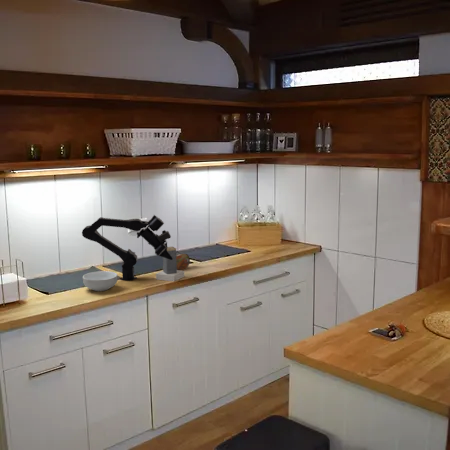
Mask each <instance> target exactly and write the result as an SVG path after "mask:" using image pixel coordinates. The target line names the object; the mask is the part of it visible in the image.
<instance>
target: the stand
mask: <svg viewBox="0 0 450 450" xmlns="http://www.w3.org/2000/svg"><path fill="white" fill-rule="evenodd" d="M184 277H185V271H184V270H177V273H172V274H166V273H164V272H163V270H161V271H158V272H157V273H155V280H161V281H165V282H166V281H168V282H176V281H179V280H180V279H182V278H184Z"/></svg>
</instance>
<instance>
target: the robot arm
mask: <svg viewBox="0 0 450 450" xmlns="http://www.w3.org/2000/svg"><path fill="white" fill-rule="evenodd" d="M164 224H165V222H164V221H163V220H162V219H161V218H160V217H158V216H157V215H155V214H153V216H152V217H151V218H150V219H149V220H148V221H147V220H146V221H145V220H142V219H140V218H130V219H118V218H111V217H110V218H108V217H99V218H97V220H95V221H94V222H93V223H92V224H90V225H86V226H85V227H84V228H83V229H82V232H81V235H82V237H83V238H85V239H87V240H89V241H92V242H95V243H98V244H99V245H100V246H102V247H103V248H105V249H106V250H109V251H110V252H112V253H113V254H115V255H116V256H118V257H119V258H120V259H121V260H122V261H123V262H122V264H121V272H122V273H121V274H122V275H121V276H122V277H121V278H120V279H119V281H120V280H121V281H125V282H126V281H127V282H128V281H129V282H130V281H134V280H136V279H137V277H136V276H135V265H136V264H137V263H138V255H137V254H136V252H135V251H133V250H131V249H130V248H128V249H127V250H126V249H123V248H122V247H120V246H119V245H117V244H116V243H115V242H112V241H111V240H110V239H108V238H106V237H104V236H103V235H102V234H100V232H99V231H98V229H100V228H101V227H113V228H125V229H127V230H131V231H134V232H136V235H137V237H136V238H137V239H139V238H140V237H142V238H143V240H144V241H146V242H147V245H150V246H151V247H153V249H154V254H155V255H156V256H158V257H161V258H163V257H164V258H167V259H170V260H172V259H173V258H172V256H171V255H170V254H169V253H168V251H167V247H168V241H167V239H168V240H169V239H171V237H172V236H171V234H170V232H169V231H168V230H165V229H164V230H161V233H160V234H157V233H156V234H155V233H154V232H157V231H158V230H159V229H161V227H162V226H163V225H164Z"/></svg>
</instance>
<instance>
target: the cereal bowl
mask: <svg viewBox="0 0 450 450" xmlns="http://www.w3.org/2000/svg"><path fill="white" fill-rule="evenodd" d="M82 282H83V285H84V286H85V288H88V289H89V290H93V291H94V292H105V291H107V290H109V289H111V288H113V287H114V286H115V285H116V284H117V282H118V273H116V272H114V271H111V270H110V271H108V270H107V271H106V270H105V271H104V270H102V271H101V270H99V271H91V272H88V273H85V274H83V276H82Z"/></svg>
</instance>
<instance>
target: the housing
mask: <svg viewBox="0 0 450 450" xmlns="http://www.w3.org/2000/svg"><path fill="white" fill-rule="evenodd" d="M167 251H168V253H169V254H170V255H171V256H172V258H173V259H172V260H170V259H167V258H164V257H162V271H163V272H164V273H166V274H172V273H177V265H176V255H177V248H176V247H174V246H167Z"/></svg>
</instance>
